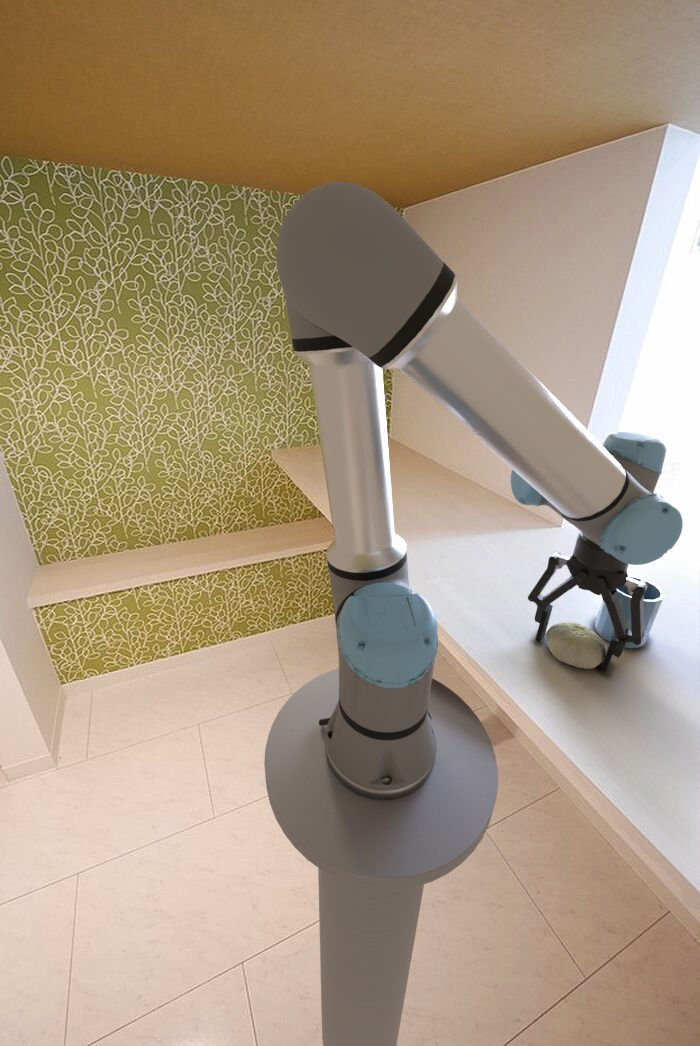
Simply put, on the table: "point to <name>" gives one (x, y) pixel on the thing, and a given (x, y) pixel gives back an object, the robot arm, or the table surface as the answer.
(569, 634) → the sea urchin shell
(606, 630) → the tumbler
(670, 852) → the table surface
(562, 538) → the table surface
